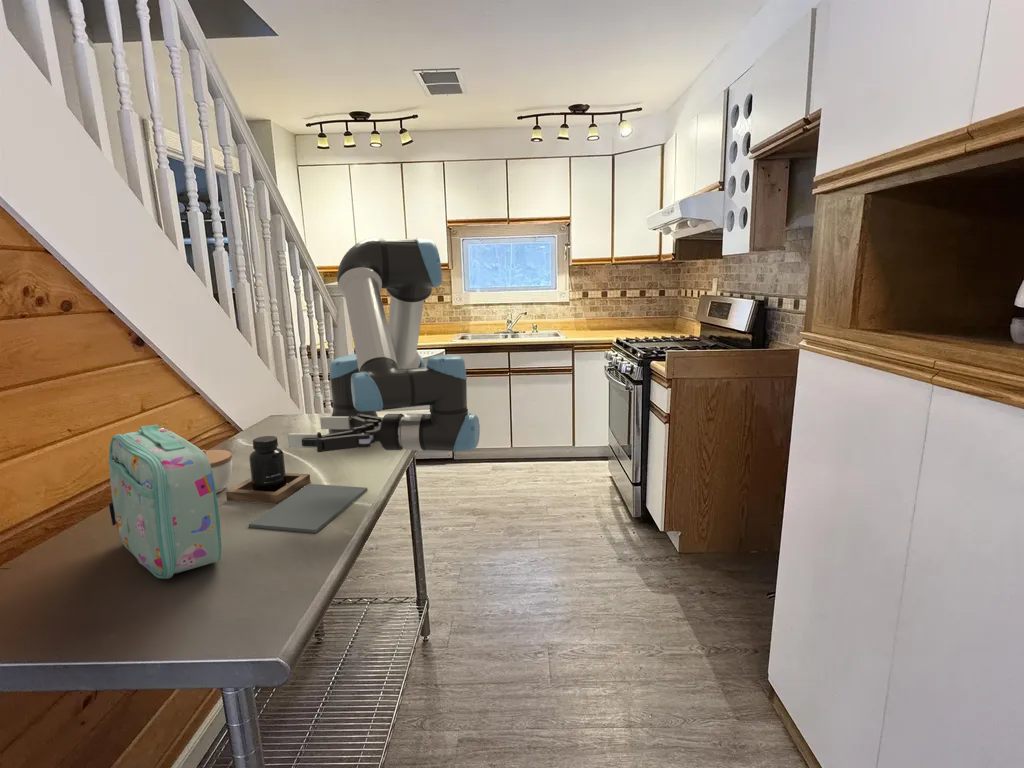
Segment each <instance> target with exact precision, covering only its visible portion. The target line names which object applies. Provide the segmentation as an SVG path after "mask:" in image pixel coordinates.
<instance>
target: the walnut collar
mask: <svg viewBox="0 0 1024 768" xmlns="http://www.w3.org/2000/svg"><path fill="white" fill-rule="evenodd" d="M285 474H286V483H288V484H286V485H285V486H283V487H282V488H280V489H279V490H277V491H275V492H268V491H254V490H252V481H251V477H250V478H248V479H246V480H244V481H242V482H241V483H239V484H237V485H235V486H233V487H232V488H229V489H227V490H226V491H225V496H226V501H230V502H240V501H242V502H243V503H255V504H265V505H266V504H267V505H268V504H269V505H278V504H279V503H281V502H282V501H284V500H285V499H287V498H288V497H290V496H291V495H292V494H294V493H295V492H297V491H298V490H301V488H304V486H307V485H308V484H312V483H311V482H312V481H311V474H310V473H296V472H295V473H294V472H285ZM242 502H241V503H242Z"/></svg>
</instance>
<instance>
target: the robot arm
mask: <svg viewBox="0 0 1024 768" xmlns="http://www.w3.org/2000/svg"><path fill="white" fill-rule="evenodd" d="M440 258H441V257H440V253H439V249H438V247H437V245H436V243H435V242H434V241H433V240H432V239H428V238H426V239H425V238H419V237H416V238H413V239H412V238H378V237H377V238H374V237H373V238H372V237H371V238H368V239H364V240H361V241H359V242H357V243H355V244H354V245H353V246H352V247H351V248H349V249H348V251H346V253H345V254H344V255H343V257H342V259H341V261H340V263H339V266H338V269H337V273H336V279H337V287H338V291H339V293H340V294H341V295H342V297H344V298H345V304H346V309H347V314H348V318H349V319H348V321H349V325H350V329H351V330H350V331H351V334H352V341H353V347H354V352H355V353H352V354H348V355H344V356H340V357H337V358H334V360H332V361H331V362H330V364H329V379H330V386H331V399H332V412H331V416H326V415H325V416H324V415H323V416H320V417H319V419H320V429H321V430H328V434H327V433H326V434H322V433H321V431H319V432H317V433H299V432H298V433H297V432H295V433H294V432H293V433H292V432H291V433H288V434H287V435H286V436H287V444H288V448H289V449H290V448H292V449H293V448H297V449H302V448H303V449H305V448H306V449H316V450H317V453H324V452H333V451H341V450H350V449H356V448H359V449H360V448H363V449H364V448H367V449H368V448H370V447H371V445H372V444H375V443H376V442H379V443H380V444H381V447H382V448H383V449H384V450H385V451H402V450H404V451H415V452H416V453H418V454H420V453H421V452H422V451H434V452H435V451H436V452H437V451H438V452H453V453H456V452H469V451H474V450H475V449H476V448H477V447H478V445H479V442H480V433H481V431H480V430H481V429H480V427H481V426H480V419H479V417H478V415H477V414H474V413H471V412H469V410H468V401H467V399H468V398H467V397H468V396H467V395H468V394H467V393H468V392H467V379H468V377H467V372H466V371H467V369H466V363H465V359H464V358H463V357H462V356H460V355H457V354H440V355H431V356H430V357H428V358H427V361H426V366H425V361H424V358H423V356H422V355H420V354H419V352H418V344H419V338H420V337H419V336H420V330H421V325H422V324H421V323H422V317H423V311H424V303H425V301H426V300H428V299H429V297H430V296H431V295H432V291H433V288H434V289H436V288H438V287H440V286H441V285H442V282H443V277H442V276H443V273H442V263H441V259H440ZM382 289H385V290H386V292H387V294H388V295H390V299H389V311H388V312H389V313H388V319H387V316H386V313H385V312H386V311H385V308H384V304H383V299H382V296H381V293H380V292H381V291H382ZM423 406H429V412H430V413H405V414H403V413H386V414H384V416H382V417H381V416H379V415H378V413H377V412H382V411H387V410H393V409H394V410H395V409H403V408H412V407H413V408H415V407H423Z"/></svg>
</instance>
